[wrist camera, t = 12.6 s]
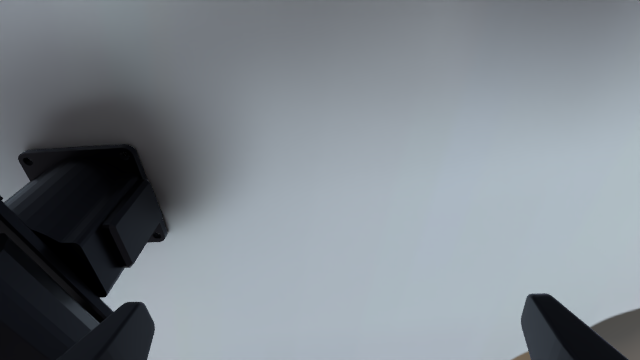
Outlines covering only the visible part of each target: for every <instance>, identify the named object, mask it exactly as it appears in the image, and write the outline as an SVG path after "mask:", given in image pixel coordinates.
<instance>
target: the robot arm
mask: <svg viewBox="0 0 640 360" xmlns="http://www.w3.org/2000/svg"><path fill="white" fill-rule="evenodd" d="M123 152H126V153H127V154H128V155H129V157H128V156H126V155H125V154H124V153H123ZM30 159H31V160H32V161H31V160H30ZM18 160H19V162H20V164H21V166H22V167H23V169H24V171H25V173H26V174H27V176H28V178H29V180H30V182H29V183H28V184H27V185H25V186H24V187H23V188H22V189H20V190H19V191H18V192H17V193H15V194H14V195H13V196H12V197H10V198H9V199H8V200H7V201H5V202H2V201H1V200H2V199H3V198H2V197H1V196H0V360H147V358H148V354H149V350H150V346H151V343H152V339H153V335H154V330H155V326H154V322H153V320H152V318H151V316H150V314H149V312H148V310H147V308H146V306H145V304H144V303H142V302H127V303H125V304H123V305H122V306H120V307H119V308H118V309H117V310H116V311H114V312H113V311H112V310H111V309H110V308H109V307H108V306H107V305H106V304H105V303H104V302H103V301H102V300H101V299H100V297H106V296H107V294H108V293H109V291H110V290H111V288H112V287H113V285H114V284H115V282H116V281H117V279H118V277H119V276H120V274H121V273H122V271H123V270H124V268H130V267H131V266H132V265H133V264H134V262H135V261H136V259H137V258H138V256H139V254H140V253H141V251H142V250H143V248H144V246H145V245H146V243H147V242H161V241H163V240H164V239H165V238H166V236H167V234H168V233H167V229H166V226H165V224H164V221H163V219H162V218H163V215H162V212H161V210H160V207H159V205H158V202H157V199H156V197H155V194H154V191H153V189H152V186H151V184H150V182H149V181H148V180H147V177H146V175H145V172H144V169H143V167H142V164H141V162H140V159H139V156H138V154H137V152H136V150H135V149H134V148H133V147H132V146H130V145H127V144H120V145H104V146H87V147H70V148H53V149H36V150H27V151H25V152H23V153H22V154H20V155H19V157H18ZM156 232H157V233H159V234H157V233H156ZM521 325H522V330H523V333H524V337H525V340H526V344H527V347H528V351H529V354H530V357H531V360H628V359H627V358H626V357H625V356H623V355H622V354H621V353H620V352H619V351H618V350H616V349H615V348H614V347H613V346H611V345H610V344H609V343H608V342H607V341H606V340H604V339H603V338H602V337H601V336H599V335H598V334H597V333H596V332H595V331H593V330H592V329H591V328H590V327H589V326H587V325H586V324H585V323H584V322H583V321H581V320H580V319H579V318H578V317H577V316H575V315H574V314H573V313H572V312H571V311H569V310H568V309H567V308H566V307H564V306H563V305H562V304H561V303H560V302H558V301H557V300H556V299H555V298H554V297H552V296H551V295H549V294H545V293H543V294H529V295H528V296H527V298H526V302H525V305H524V309H523V313H522V316H521Z"/></svg>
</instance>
